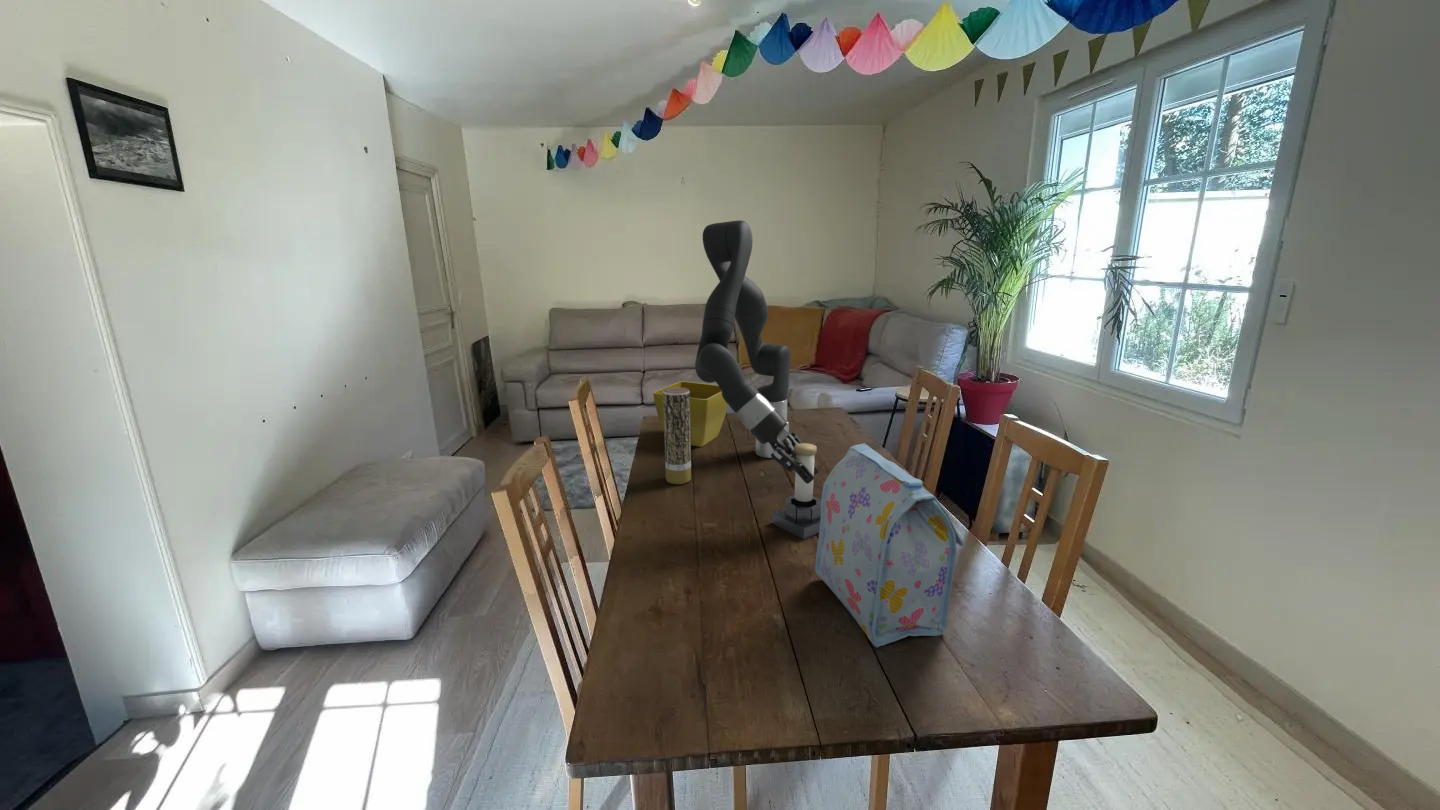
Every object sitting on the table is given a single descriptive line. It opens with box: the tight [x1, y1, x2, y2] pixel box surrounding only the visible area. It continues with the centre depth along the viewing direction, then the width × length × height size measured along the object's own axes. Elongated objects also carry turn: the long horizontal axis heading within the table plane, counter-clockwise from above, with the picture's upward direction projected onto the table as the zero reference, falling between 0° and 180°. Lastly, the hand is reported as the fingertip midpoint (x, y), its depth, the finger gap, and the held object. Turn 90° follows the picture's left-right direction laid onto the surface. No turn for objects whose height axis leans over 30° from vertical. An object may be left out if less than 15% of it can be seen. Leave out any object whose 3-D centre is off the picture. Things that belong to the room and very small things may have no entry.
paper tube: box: [663, 387, 692, 485], centre depth 154 cm, size 7×7×25 cm
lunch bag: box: [814, 442, 965, 648], centre depth 99 cm, size 22×17×26 cm
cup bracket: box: [771, 494, 822, 540], centre depth 131 cm, size 10×10×6 cm
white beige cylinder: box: [794, 442, 818, 502], centre depth 129 cm, size 5×5×12 cm
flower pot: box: [653, 380, 729, 447], centre depth 189 cm, size 19×19×17 cm
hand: (813, 477), depth 128 cm, fingers closed on white beige cylinder, 4 cm apart
